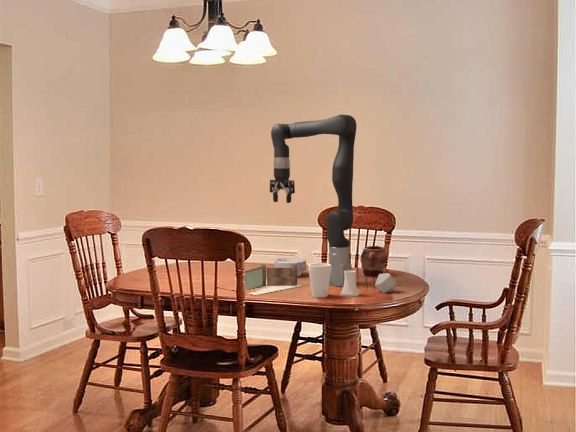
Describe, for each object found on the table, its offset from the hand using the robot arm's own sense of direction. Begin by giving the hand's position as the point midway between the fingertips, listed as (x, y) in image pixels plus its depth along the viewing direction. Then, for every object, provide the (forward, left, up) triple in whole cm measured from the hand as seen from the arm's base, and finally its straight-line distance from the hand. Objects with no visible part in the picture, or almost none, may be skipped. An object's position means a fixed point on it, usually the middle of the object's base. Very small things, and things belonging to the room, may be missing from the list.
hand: (282, 202), depth 321 cm
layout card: (-6, +20, -36) cm, 42 cm away
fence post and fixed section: (-11, +13, -36) cm, 40 cm away
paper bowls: (+4, -9, -36) cm, 38 cm away
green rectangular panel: (-8, +26, -35) cm, 44 cm away
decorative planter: (-26, -35, -36) cm, 57 cm away
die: (-53, -9, -36) cm, 65 cm away
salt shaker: (-46, +6, -36) cm, 59 cm away
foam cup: (-38, +16, -36) cm, 55 cm away
